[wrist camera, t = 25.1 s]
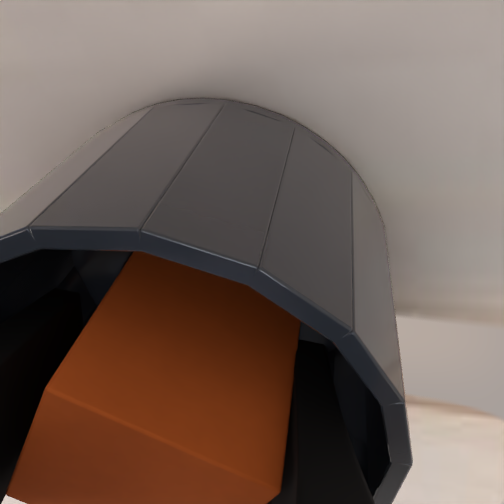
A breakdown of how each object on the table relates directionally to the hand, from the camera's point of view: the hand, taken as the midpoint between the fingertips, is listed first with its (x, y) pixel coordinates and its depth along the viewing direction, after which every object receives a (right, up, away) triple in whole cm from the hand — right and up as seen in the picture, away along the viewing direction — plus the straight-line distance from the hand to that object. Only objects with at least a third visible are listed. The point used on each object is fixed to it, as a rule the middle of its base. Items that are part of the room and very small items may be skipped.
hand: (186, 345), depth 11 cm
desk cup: (+1, +2, +3) cm, 3 cm away
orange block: (0, +1, +1) cm, 1 cm away
